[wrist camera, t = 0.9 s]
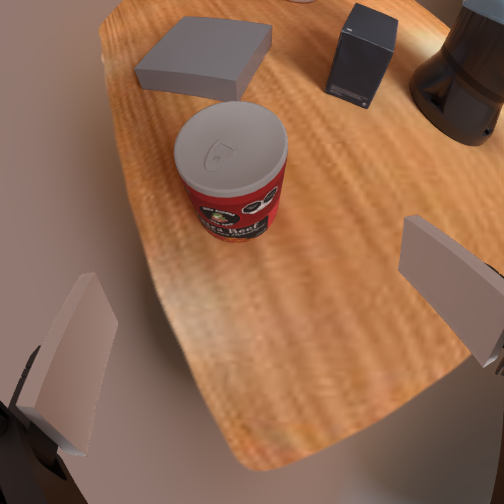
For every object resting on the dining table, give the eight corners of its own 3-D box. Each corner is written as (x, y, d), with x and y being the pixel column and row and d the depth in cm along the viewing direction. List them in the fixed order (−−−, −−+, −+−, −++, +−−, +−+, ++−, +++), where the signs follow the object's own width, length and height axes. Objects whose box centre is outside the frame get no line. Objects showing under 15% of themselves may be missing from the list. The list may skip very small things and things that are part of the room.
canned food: (188, 234, 29) (154, 179, 18) (214, 165, 31) (198, 92, 20) (265, 255, 28) (271, 207, 17) (285, 182, 30) (299, 111, 19)
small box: (370, 112, 33) (396, 52, 23) (322, 93, 34) (338, 30, 24) (380, 70, 36) (401, 19, 25) (340, 54, 36) (353, 1, 26)
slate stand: (271, 45, 36) (272, 25, 33) (237, 104, 33) (235, 80, 29) (187, 35, 38) (184, 16, 34) (142, 88, 34) (134, 68, 31)
